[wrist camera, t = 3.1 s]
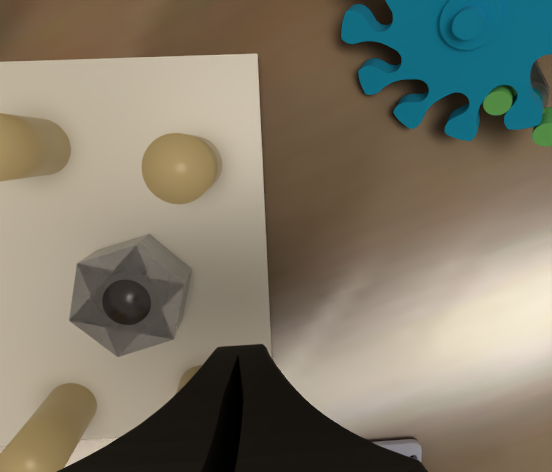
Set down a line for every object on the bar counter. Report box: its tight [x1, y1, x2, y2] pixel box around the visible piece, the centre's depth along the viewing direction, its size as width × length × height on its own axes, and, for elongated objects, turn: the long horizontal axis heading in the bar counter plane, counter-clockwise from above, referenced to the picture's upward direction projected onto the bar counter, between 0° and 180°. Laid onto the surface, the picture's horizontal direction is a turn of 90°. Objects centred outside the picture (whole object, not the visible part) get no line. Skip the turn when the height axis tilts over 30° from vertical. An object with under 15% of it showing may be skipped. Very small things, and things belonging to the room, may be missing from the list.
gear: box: [341, 0, 552, 146], centre depth 17 cm, size 11×6×10 cm
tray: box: [0, 54, 272, 472], centre depth 18 cm, size 18×20×6 cm
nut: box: [69, 234, 192, 357], centre depth 19 cm, size 4×5×2 cm
